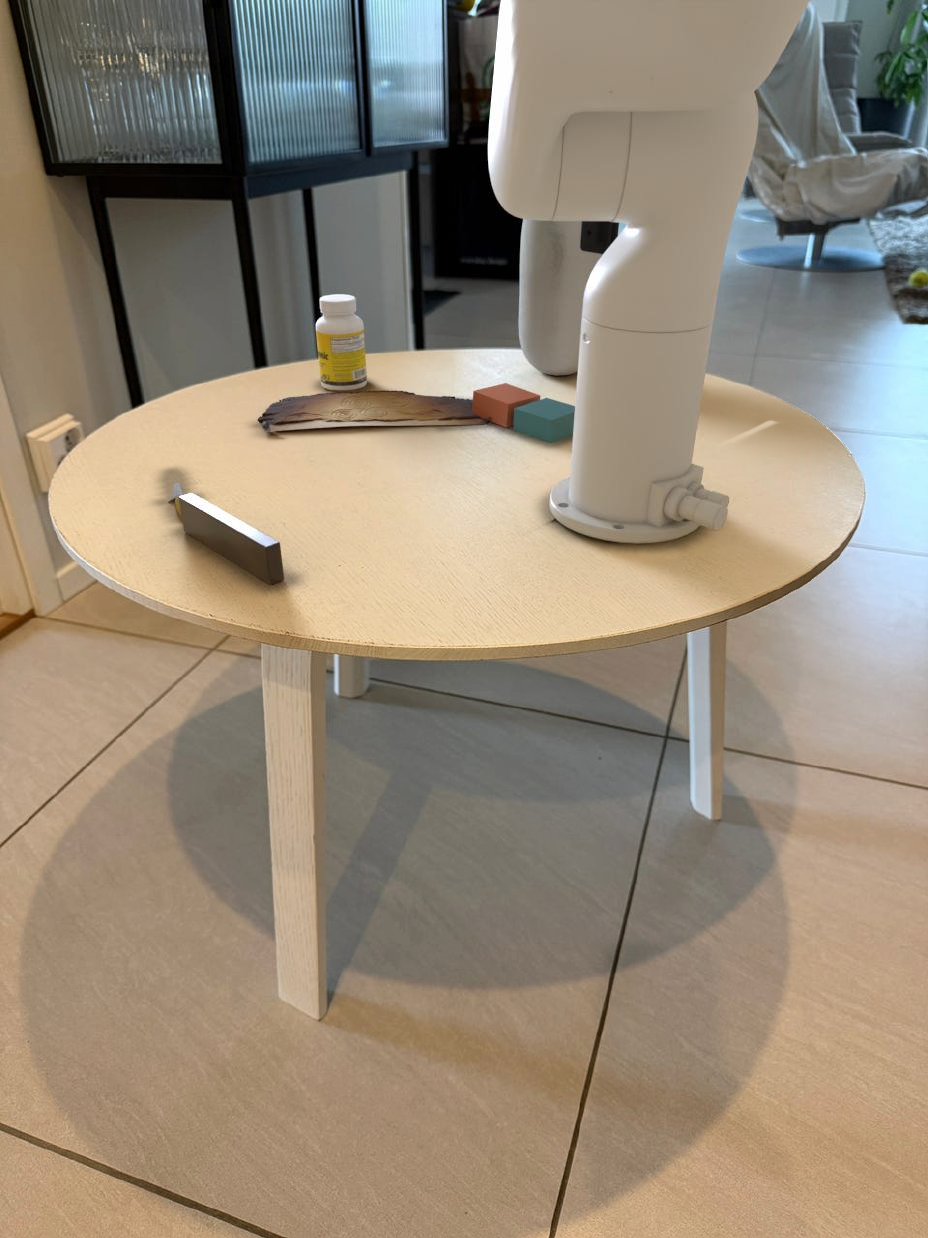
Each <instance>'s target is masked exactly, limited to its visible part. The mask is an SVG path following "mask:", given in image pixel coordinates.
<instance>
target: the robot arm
mask: <svg viewBox="0 0 928 1238" xmlns="http://www.w3.org/2000/svg"><path fill="white" fill-rule="evenodd" d="M810 1H811V0H500V4H499V11H498V21H497V33H496V43H495V44H496V45H495V56H494V67H493V78H492V90H491V101H490V112H489V123H488V139H487V140H488V141H487V161H488V164H487V165H488V173H489V178H490V183H491V187H492V190H493V193H494V196H495V198H496V200H497V202H498V203H499V204H500V206H501V207H502V209H504V211H506V212H507V213H508V214H510V215H512V216H513V217H514V218H515V217H516V218H519V219H522V220H523V219H527V220H539V221H582V225H581V239H580V249H581V250H582V251H586V252H592V253H598V254H603V255H602V257H601V258H600V259H599V261H598V262H597V264H596V265H595V267H594V269H593V270H592V272H591V274H590V277H589V279H588V281H587V284H586V288H585V291H584V298H583V309H582V321H581V334H580V348H579V361H578V372H577V376H576V390H575V402H574V403H575V404H574V406H575V415H574V429H573V435H572V444H571V445H572V446H571V458H570V459H571V460H570V470H569V471H570V473H569V476H568V477H566V478H564V479H562V480H561V481H559V482H558V483H556V484H555V485H554V486H553V488H552V489H551V490H550V494H549V511H550V513H551V515H552V516H553V517H554V519H555V520H556V521H557V522H558V523H560V524H561V525H563V526H564V527H566V528H567V529H569V530H571V531H573V532H575V533H578V534H581V535H583V536H586V537H589V538H593V539H597V540H602V541H607V542H614V543H619V544H620V543H622V544H653V543H665V542H668V541H673V540H677V539H679V538H683V537H685V536H688V535H689V534H691V533H692V532H694V531H696V530H697V529H698V528H700V526H701V527H704V528H707V529H710V530H713V531H715V532H717V531H720V530H721V529H722V528H723V526H724V525H725V523H726V521H727V518H728V511H729V510H728V507H729V503H730V497H729V495H726V494H724V493H721V492H717V491H715V490H713V491H712V490H709V489H706V488H705V486H704V484H702V481H703V475H704V469H705V468H704V467H703V466H701V465H697V464H694V463H693V458H694V451H695V445H696V444H695V443H696V438H697V431H698V424H699V417H700V412H701V405H702V398H703V391H704V386H705V385H704V384H705V378H706V371H707V365H708V358H709V351H710V345H711V338H712V333H713V332H712V331H713V327H714V326H713V325H714V321H715V316H716V315H715V313H716V308H717V302H718V301H717V300H718V295H719V288H720V283H721V277H722V272H723V265H724V261H725V255H726V252H727V246H728V241H729V237H730V233H731V230H732V226H733V221H734V218H735V215H736V212H737V208H738V205H739V203H740V202H739V201H740V198H741V195H742V191H743V188H744V185H745V182H746V179H747V175H748V173H749V170H750V167H751V163H752V159H753V155H754V151H755V147H756V143H757V136H758V129H759V106H758V100H757V96H756V93H755V91H757V90H758V89H759V88H760V87H761V85H762V84H763V83H764V82H765V81H766V79H767V78H768V77H769V75H770V74H771V73H772V71H773V69H774V68H775V66H776V65H777V63H778V61H779V59H780V58H781V56H782V54H783V52H784V50H785V49H786V47H787V45H788V43H789V41H790V40H791V38H792V36H793V34H794V32H795V30H796V28H797V26H798V24H799V23H800V21H801V18H802V17H803V15H804V13H805V11H806V9H807V7H808V5H809V3H810ZM621 223H622V224H624V225H625V226H624V228H623V229H622V230H621V231H620V233H619V228H620V227H619V226H620V224H621Z"/></svg>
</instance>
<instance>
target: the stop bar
mask: <svg viewBox="0 0 928 1238" xmlns="http://www.w3.org/2000/svg"><path fill="white" fill-rule="evenodd" d="M178 499H179V504H180V510H181V515H182V519H181V520H182V526H183V531H184V533H186V534H188V535H189V536H191V537H192V538H194V539H195V540H197V541H199V542H201V543H202V544H203V545H205V546H207V547H208V548H210V549H212V550H213V551H215V552H217V553H218V554H220V555H221V556H223V557H225V558H226V559H228V560H230V561H231V562H233V563H234V564H236V565H237V566H239V567H240V568H242V569H244V570H246V571H247V572H249V573H250V574H253V575H254V576H255V577H256V578H258V579H260V580H261V581H263V582H265V583H267V584H268V585H270V586H272V585H274V584H277V583H280V582H282V581H285V574H284V566H283V565H284V564H283V557H282V548H281V542H280V541H278V540H276V539H275V538H272V537H271V536H269V535H267V534H265V533H264V532H263V531H261V530H259V529H257V528H255V527H253V526H252V525H250V524H248V523H246V522H244V521H242V520H241V519H239V518H238V517H236V516H234V515H232V514H230V513H228V512H227V511H226V510H225V511H224V510H223V509H221V508H220V507H218V506H216V505H214V504H212V503H211V502H209V501H207V500H205V499H204V498H202V497H200V496H199V495H197V494H194V493H193V492H190V493H186V494H184V495H183V496H180V497H178Z"/></svg>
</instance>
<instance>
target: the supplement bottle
mask: <svg viewBox="0 0 928 1238" xmlns="http://www.w3.org/2000/svg"><path fill="white" fill-rule="evenodd" d="M319 309H320V313H321V314H322V316H321V317H319V318H318V319H317V321H316V323H315V334H316V335H315V336H316V345H317V355H318V356H317V357H318V368H319V379H320V384H321V386H322V387H323V388H324V389H327V390H329V391H353V390H358V389H360V388H361V389H362V388H363V387H365V386H366V385H367V384H368V373H367V372H368V371H367V358H366V357H367V356H366V342H365V327H364V325H365V324H364V321H363V319H362V318H361V317H360V316H358V315H357V314H355V313H356V312H357V298H356V297H355V296H354V295H351V294H344V293H341V294H340V293H339V294H336V293H335V294H327V295H322V296H321V297H319Z"/></svg>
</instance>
